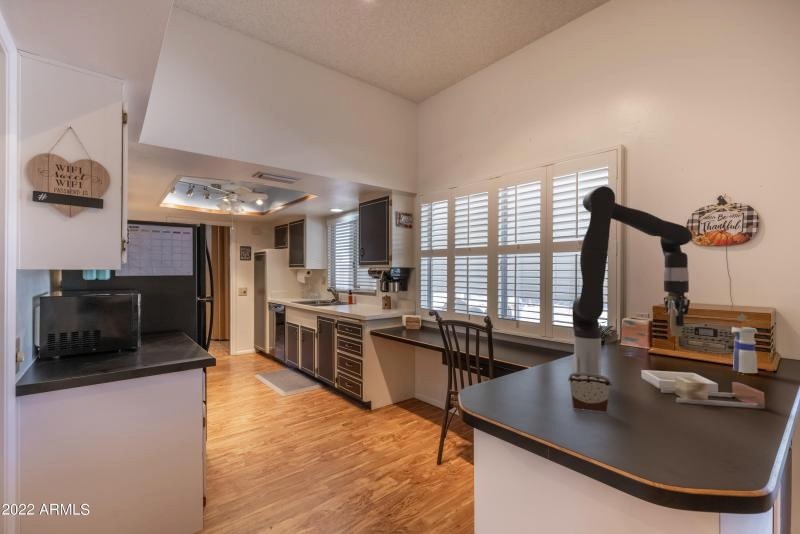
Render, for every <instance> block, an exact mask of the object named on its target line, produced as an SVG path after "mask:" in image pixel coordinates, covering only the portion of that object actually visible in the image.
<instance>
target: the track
mask: <svg viewBox="0 0 800 534" xmlns="http://www.w3.org/2000/svg"><path fill="white" fill-rule="evenodd" d="M731 388H732V392H724V391H723V392H719V391H718V392H708V397H720V398H723V397H724V398H732V397H735V398H734V399H736V398H737V400H738V399H739V401H726V400H713V399H708V400H700V399H686V398H682V397H676V403H681V404H693V405H695V404H696V405H707V406H708V405H709V406H719V407H733V408H734V407H735V408H747V409H748V408H749V409H761V410H762V409H763V410H765V409H766V407H765V392H763V391H761V390H759V389H756V388H754V387H752V386H748V385H746V384H744V383H742V382H737V381H732V387H731ZM660 392H661V393H662V394H663V393H664V394H675V389H663V388H661V389H660ZM675 395H676V394H675ZM740 401H741V402H740ZM745 402H746V403H745Z"/></svg>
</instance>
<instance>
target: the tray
mask: <svg viewBox="0 0 800 534" xmlns="http://www.w3.org/2000/svg"><path fill="white" fill-rule="evenodd" d="M675 376H676V377H692V378H697V379H699V380H701V381H703V382H705V383H707V384H708V392H719V384H718V383H717V382H714V381H712V380H710V379H708V378H706V377H705V376H704V377H703V376H702V375H699V374H697V373H695V372H682V371H678V372H677V371H667V370H666V371H664V370H663V371H662V370H649V369H648V370H646V369H645V370H644V369H641V379H643V380H644V381H646V382H648V384H651V385H652V386H653V385H654V387H655V388H657V389H658V388H659V389H658V390H661V388H663V389H675Z"/></svg>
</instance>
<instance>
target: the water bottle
mask: <svg viewBox="0 0 800 534" xmlns="http://www.w3.org/2000/svg"><path fill="white" fill-rule="evenodd" d="M736 317H737V318H739V320H738V321H739V322H740V321H744V322H745V321H746V318H748V316H747V315H744V314H743V313H741V315H737V316H736ZM731 333H732V334H733V335H735V338H734V339H733V342H734V343H733V346H734V348H733V364H732V366H733V367H732V371H733V370H734V371H737V372H742V373H759V372H758V371H759V370H758V360H757V359H758V356H757V352H756V344H757V342H756V341H755V334H758V333H759V332H758V330H757V328H754V327H750V326H742V327H735V326H732V327H731Z"/></svg>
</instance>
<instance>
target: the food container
mask: <svg viewBox="0 0 800 534" xmlns="http://www.w3.org/2000/svg"><path fill="white" fill-rule="evenodd" d="M567 382H569V386H570V396H571V403H572V409H573V408H576V409H575V410H579V409H584V410H583V411H587V410H591V411H590V412H596V411H599V412H598V413H604V412H607V413H608V410H609V401H610V394H611V393H610V392H611V387H614V385H613V382H612V379H611V378H609V377H607V376H604V375H602V374H601V375H597V374H591V373H573V372H572V373H570V374H569V375H568V378H567Z"/></svg>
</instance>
